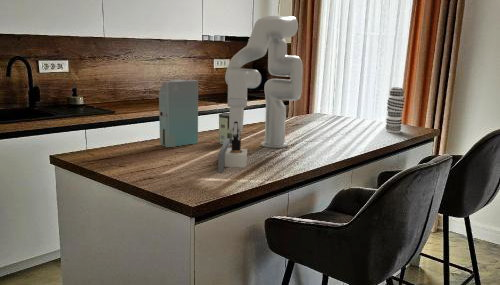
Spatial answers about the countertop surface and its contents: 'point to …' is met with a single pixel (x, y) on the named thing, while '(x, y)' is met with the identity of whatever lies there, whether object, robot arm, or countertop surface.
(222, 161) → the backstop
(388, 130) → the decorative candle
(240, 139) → the dowel
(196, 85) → the device
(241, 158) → the socket block
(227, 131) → the coffee can
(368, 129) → the countertop surface
